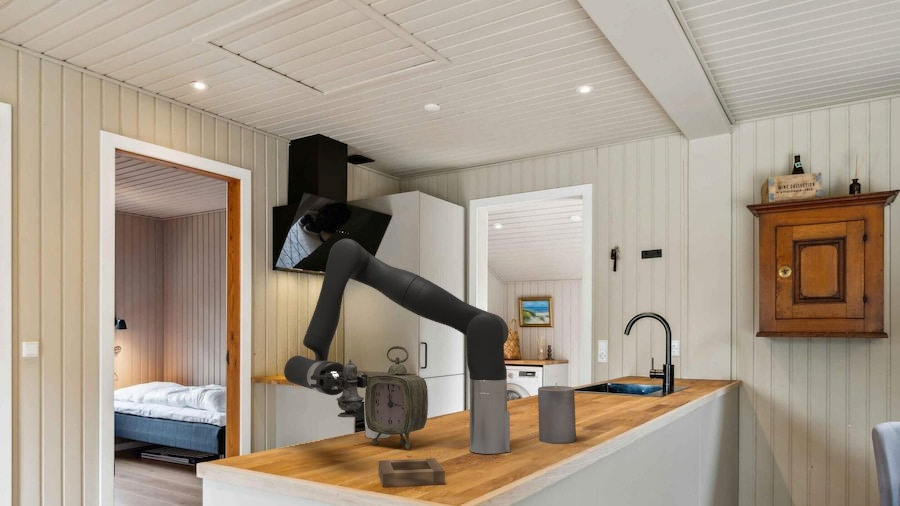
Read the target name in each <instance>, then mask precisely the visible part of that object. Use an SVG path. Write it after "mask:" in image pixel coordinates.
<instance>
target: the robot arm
mask: <svg viewBox="0 0 900 506" xmlns="http://www.w3.org/2000/svg"><path fill="white" fill-rule="evenodd" d="M349 280H353V281H356V282H358V283H361V284H363V285H366V286H368V287H370V288H373V289H375V290H376V291H378V292H380V293H381V294H382V295H383V296H385V297H386V298H388V299H389V300H390V301H392V302H393V303H395V304H396V305H398V306H400V307H402V308H403V309H405V310H407V311H409V312H411V313H413V314H415V315H417V316H418V317H422V318H424V319H427V320H429V321H432V322H436V323H437V324H441V325H445V326H447V327H450V328H452V329H454V330H455V331H457V332H460V333H461V334H463V336H466V340H465V341H466V363H467V368H468V372H469V373H468V374H469V375H468V377H469V390H468V391H469V452H471V453H476V454H481V455H482V454H483V455H484V454H486V455H491V454H492V455H494V454H495V455H497V454H504V453H510V452H511V427H510V426H511V425H510V424H511V421H510V419H511V418H510V417H511V416H510V415H511V414H510V411H509V410H508V378H507V377H508V376H507V375H508V371H507V366H506V362H505V344H506V342H507V341H508V339H509V337H510V336H509V334H510V333H509V327H508V325H507V322H506V321H505V320H504V319H503V318H502V316H500V315H498V314H495V313H492V312H489V311H486V310H483V309H481V308H479V307H476V306H473V304H469V303H468V302H465V301H463V300H462V299H461V298H458V297H457V296H456V295H454V294H453V293H451V292H449V291H447V290H446V289H444V288H442V287H441V286H439V285H438V284H436V283H434V282H433V281H431V280H429V279H426V278H425V277H422V276H421V275H419V274H416V273H414V272H411V271H408V270H406V269H403V268H398V267H394V266H391V265H390V264H387V263H385V262H384V261H382V260H380V259H379V258H377V257H376V256H374V255H373V254H371V253H370V252H369V251H367V250H366V249H365V248H364V247H363V246H361V244H359V243H358V241H355V240H354V239H350V238H342V239H340V240H338V241H336V242H335V243H334V244H333V245H332V246H331V248H330V251H329V254H328V258H327V262H326V267H325V272H324V277H323V279H322V285H321V289H320V292H319V296H318V299H317V301H316V305H315V308H314V310H313V313H312V316H311V318H310V321H309V324H308V327H307V329H306V332H305V334H304V336H303V340H302V344H303V346H304V347H305V348H307V349H309V350H310V351H312V352H313V353H314V356H315V359H311V358H308V357H305V356H302V355H294V356H292V357H290V358H289V359H288V360H287V362H286V363H285V365H284V368H283V374H284V378H285V380H287V382H288V383H291V384H295V385H297V386H301V387H304V388H307V389H309V390H310V389H311V390H314V391H316V392H318V393H321V394H325V395H327V396H338V395H339V394H342V393H343V389H347V379H346V378H344V366H345V365H344V364H342V363H340V362H336V361H330V360H328V359H329V355H330V354H329V353H330V348H331V345H332V342H333V339H334V337H335V334H336V332H337V330H338V327H339V326H338V325H339V323H340V319H341V318H340V315H341V308H342V303H343V297H344V292H345V289H346V287H347V283H348V282H349ZM368 379H369V375H368V373H367V372H365V371H363V372H361V373H359V374H357V380H359V381H358V382H357V388H361V389H366V386H368Z"/></svg>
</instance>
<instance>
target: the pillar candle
mask: <svg viewBox="0 0 900 506" xmlns="http://www.w3.org/2000/svg"><path fill="white" fill-rule="evenodd" d="M537 402H538V403H537V405H538V408H537V409H538V441H539V442H542V443H546V444H554V445H555V444H570V443H571V444H572V443H575V442H576V440H577V429H576V426H577V425H576V401H575V388H574V387H572V386H565V385H558V383H557V382H556V383H555V385H547V386H541V387H540V386H539V387H538V388H537Z"/></svg>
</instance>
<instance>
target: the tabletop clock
mask: <svg viewBox="0 0 900 506" xmlns="http://www.w3.org/2000/svg"><path fill="white" fill-rule="evenodd" d="M392 350H401V351H403V352H405V354H406V357H405V358H404V359H400V357H398V356H396V357H395V359H393V358H391V357H390V356H389V355H390V352H391V351H392ZM409 355H410V354H409V351H408V350H407V349H406V348H405V347H403V346H398V345H396V346H392V347H389V349H387V352H386V357H387V359H388V361H389V362H391V363H395V364H392V365H390V366H389V368H388V370H387V374H383V375H381V374H380V375H375V376H370V377H368V386H366V388H365V394H364V395H365V398H364V399H365V415H364V417H365V416H366V423H367V426H368V428H369V429H370V430H372V431H374V432H378V435H377V437H376V438H371V444H372V445H373V446H376V445H377V444H378V443H379V440H378V439H379V437H380V435H381V434H389V435H391V436H392V435H399V437H400V439H399V443H400V445H404V448H405V449H406V450H410V449H411V448H412V443H411V442H410V433H412V432H416V431H417V432H418V431H421V430H423V429H424V428H425V426H426V423H427V420H428V411H429V410H428V409H429V398H428V397H429V394H428V391H429V390H428V385H427V381H426V379H425V378H423V377H422V376H419V375H415V374H410V373H409V374H408V370H407V368H406V366H405V365H404V364H403V363H404V362H406V361H407V360H408V359H409ZM404 436H405V437H404Z"/></svg>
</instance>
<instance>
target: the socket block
mask: <svg viewBox="0 0 900 506" xmlns="http://www.w3.org/2000/svg"><path fill="white" fill-rule="evenodd" d="M377 468H378V476H379V479H380V482H381V485H382V486H381V487H382V488H393V487H394V488H396V487H411V486H412V487H415V486H419V487H420V486H434V485H435V486H436V485H437V486H438V485H446V471H445V469H444V468H443V467H442V465H441V463H440V462H439V461H438V460H437V459H436V457H435V458H432V457H431V458H429V457H428V458H412V459H411V458H410V459H409V458H408V459H406V458H405V459H386V460H378V467H377Z"/></svg>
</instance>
